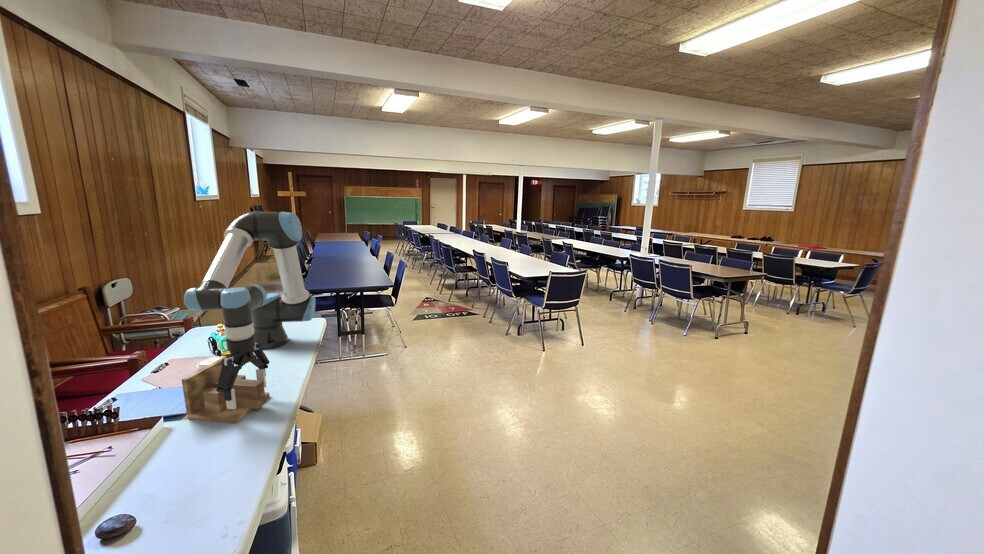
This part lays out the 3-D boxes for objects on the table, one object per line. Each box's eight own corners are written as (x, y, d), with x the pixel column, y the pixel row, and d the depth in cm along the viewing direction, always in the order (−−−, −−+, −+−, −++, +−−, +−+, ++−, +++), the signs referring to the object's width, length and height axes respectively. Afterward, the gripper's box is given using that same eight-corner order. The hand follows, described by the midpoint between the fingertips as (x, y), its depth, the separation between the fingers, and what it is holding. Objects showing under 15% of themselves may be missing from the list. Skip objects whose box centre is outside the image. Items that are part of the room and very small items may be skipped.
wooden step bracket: (227, 392, 135) (222, 357, 132) (269, 396, 133) (265, 361, 130) (187, 418, 119) (181, 379, 116) (234, 423, 118) (229, 383, 115)
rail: (225, 399, 128) (222, 377, 126) (265, 402, 127) (263, 380, 125) (216, 406, 124) (213, 383, 122) (257, 408, 123) (255, 386, 121)
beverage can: (213, 398, 130) (209, 366, 128) (194, 395, 132) (189, 364, 129) (233, 387, 138) (230, 357, 136) (215, 384, 140) (211, 354, 137)
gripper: (257, 322, 132) (263, 377, 137) (195, 351, 108) (205, 417, 113) (277, 323, 132) (282, 379, 136) (219, 353, 107) (228, 419, 112)
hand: (247, 396), depth 125 cm, fingers open, 13 cm apart
